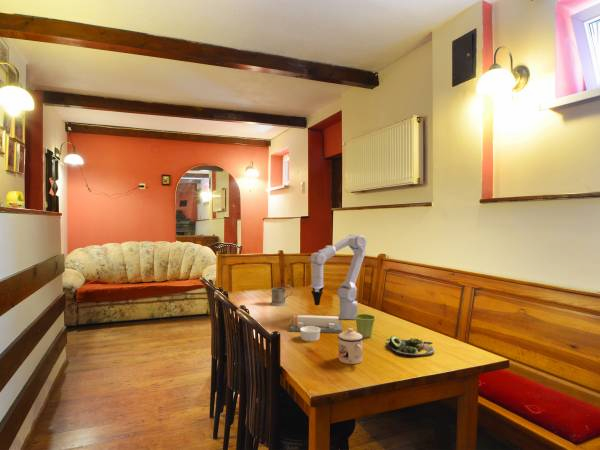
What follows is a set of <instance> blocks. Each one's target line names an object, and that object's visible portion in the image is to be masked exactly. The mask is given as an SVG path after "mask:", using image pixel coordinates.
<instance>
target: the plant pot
mask: <svg viewBox="0 0 600 450" xmlns="http://www.w3.org/2000/svg"><path fill="white" fill-rule="evenodd" d="M354 317H355V319H354V320H355V324H356V332H357V333H359V334H361V335H362V336H363V339H367V338H372V335H373V328H374V327H373V326H374V322H375V320H376V318H377V317H376V316H375V315H373V314H370V313H369V314H368V313H358V314H357V315H355V316H354Z"/></svg>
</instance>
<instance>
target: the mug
mask: <svg viewBox="0 0 600 450" xmlns="http://www.w3.org/2000/svg"><path fill="white" fill-rule="evenodd" d="M287 288H290V289H291V293H290V294H288V295H286V292H287ZM293 292H294V290H293V287H292V286H291V285H289V284H287V285H286V287H280V286H278V287H271V303H270V304H269V306H273V307H283V306H286V305H287V303H286V298H288V297H289V296H292V294H294V293H293Z"/></svg>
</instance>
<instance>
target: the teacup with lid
mask: <svg viewBox="0 0 600 450" xmlns="http://www.w3.org/2000/svg"><path fill="white" fill-rule="evenodd" d="M337 338H338V360H339V361H340V362H341V363H344V364H346V365H357V364H359V363H360V364H361V362H362V361H363V353H364V351H363V340H364V338H363V336H362V335H361V334H359V333H357V331H355V330H354V328H353V327H352V328H351V327H349V328H347V330H345V331H342V333H338V336H337Z"/></svg>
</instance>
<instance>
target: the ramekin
mask: <svg viewBox="0 0 600 450" xmlns="http://www.w3.org/2000/svg"><path fill="white" fill-rule="evenodd" d="M300 331H301V332H300V339H301V340H302V341H304V342H305V341H306V342H316V341H318V340H319V339H320V334H321V332H320V328H319V327H315V326H305V327H302V328H300Z"/></svg>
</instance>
